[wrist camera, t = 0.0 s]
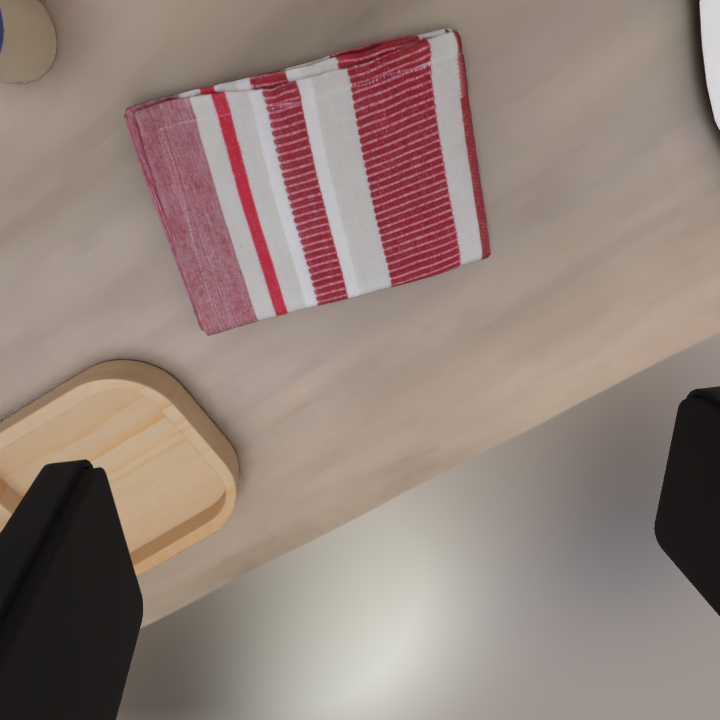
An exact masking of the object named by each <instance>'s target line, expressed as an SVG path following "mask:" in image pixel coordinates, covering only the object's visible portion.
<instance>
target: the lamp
mask: <svg viewBox="0 0 720 720" xmlns="http://www.w3.org/2000/svg"><path fill="white" fill-rule="evenodd" d="M84 459H86V460H89V461H90V462H91V464H92V465H93V468H98V467H101V468H103V469H104V470H105V472H106V475H107V477H108V481H109V484H110V488H111V491H112V495H113V498H114V502H115V505H116V508H117V512H118V515H119V519H120V522H121V526H122V529H123V533H124V536H125V539H126V543H127V546H128V550H129V553H130V557H131V560H132V563H133V567H134V570H135V574H136V577H137V576H139V575H141V574H142V573H144V572H146V571H148V570H149V569H151V568H153V567H155V566H157V565H158V564H160V563H162V562H164V561H165V560H167V559H169V558H171V557H173V556H174V555H176V554H178V553H180V552H181V551H183V550H185V549H187V548H189V547H190V546H192V545H194V544H196V543H197V542H199V541H201V540H203V539H204V538H206V537H208V536H209V535H211V534H213V533H214V532H216V531H217V530H218V529H220V528H221V527H222V526H223V525H224V524H225V523H226V521H227V520H228V519H229V517H230V516H231V514H232V512H233V509H234V507H235V503H236V498H237V489H238V479H239V462H238V458H237V455H236V453H235V451H234V449H233V447H232V445H231V444H230V443H229V441H228V440H227V439H226V438H225V436H224V435H223V434H222V433H221V431H220V430H219V429H218V428H217V427H216V425H215V424H214V423H213V422H212V421H211V419H210V418H209V417H208V416H207V415H206V413H205V412H204V411H203V410H202V409H201V407H200V406H199V405H198V404H197V403H196V402H195V400H194V399H193V398H192V397H191V396H190V394H189V393H188V392H187V391H186V390H185V389H184V388H183V386H182V385H181V384H180V383H179V382H178V381H177V380H176V379H175V378H173V377H172V376H171V375H169V374H168V373H167V372H165V371H163V370H161V369H159V368H157V367H155V366H153V365H150V364H147V363H143V362H139V361H132V360H114V361H107V362H103V363H100V364H97V365H94V366H92V367H90V368H88V369H87V370H85V371H83V372H81V373H80V374H78V375H76V376H75V377H73V378H71V379H70V380H68V381H66V382H65V383H63V384H62V385H60V386H58V387H57V388H55V389H53V390H52V391H50V392H48V393H47V394H45V395H44V396H42V397H40V398H39V399H37V400H35V401H34V402H32V403H30V404H29V405H27V406H26V407H24V408H22V409H21V410H19V411H17V412H16V413H14V414H13V415H11V416H9V417H8V418H6V419H4V420H3V421H1V422H0V533H1V531H2V530H3V528H4V526H5V525H6V523H7V522H8V520H9V519H10V517H11V516H12V514H13V513H14V511H15V509H16V508H17V506H18V505H19V503H20V502H21V500H22V499H23V497H24V496H25V494H26V492H27V491H28V489H29V488H30V486H31V485H32V483H33V482H34V480H35V478H36V477H37V475H38V474H39V472H40V471H41V469H42V468H43V467H44V466H45V465H46V464H50V463H58V462H67V461H76V460H84Z"/></svg>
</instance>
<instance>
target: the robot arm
mask: <svg viewBox="0 0 720 720" xmlns="http://www.w3.org/2000/svg"><path fill="white" fill-rule="evenodd" d="M654 529H655V535H656V539H657V541H658V543H659V545H660V547H661V548H662V549H663V550H664V552H665V553H666V554H667V555H668V556H669V557H670V559H671V560H672V561H673V562H674V563H675V564H676V566H677V567H678V568H679V569H680V570H681V572H682V573H683V574H684V575H685V576H686V577H687V578H688V580H689V581H690V582H691V583H692V584H693V585H694V587H695V588H696V589H697V590H698V591H699V593H700V594H701V595H702V596H703V597H704V598H705V600H706V601H707V602H708V603H709V604H710V605H711V607H712V608H713V609H714V610H715V611H716V612H717V613H718V615H719V616H720V386H719V387H711V388H703V389H695V390H693V391H691V392H690V393H689V395H688V396H687V398H686V399H685V400H683V401H682V402H681V403H680V405H679V407H678V411H677V416H676V422H675V426H674V432H673V436H672V441H671V446H670V451H669V456H668V461H667V466H666V471H665V476H664V481H663V486H662V490H661V495H660V500H659V505H658V510H657V515H656V520H655V528H654ZM142 617H143V599H142V594H141V591H140V588H139V584H138V581H137V577H136V574H135V570H134V567H133V563H132V560H131V557H130V553H129V550H128V546H127V543H126V539H125V536H124V533H123V529H122V526H121V522H120V519H119V515H118V512H117V508H116V505H115V502H114V498H113V495H112V491H111V488H110V484H109V481H108V477H107V475H106V472H105V470H104V469H103V468H101V467H98V468H93V465H92V464H91V462H90V461H89V460H86V459H84V460H76V461H67V462H58V463H50V464H46V465H45V466H44V467H43V468H42V469H41V471H40V472H39V474H38V475H37V477H36V478H35V480H34V482H33V483H32V485H31V486H30V488H29V489H28V491H27V492H26V494H25V496H24V497H23V499H22V500H21V502H20V503H19V505H18V506H17V508H16V509H15V511H14V513H13V514H12V516H11V517H10V519H9V520H8V522H7V523H6V525H5V526H4V528H3V530H2V531H1V533H0V720H116V717H117V713H118V709H119V706H120V702H121V698H122V694H123V691H124V687H125V683H126V679H127V675H128V672H129V668H130V664H131V660H132V656H133V653H134V649H135V645H136V641H137V637H138V633H139V630H140V626H141V622H142Z"/></svg>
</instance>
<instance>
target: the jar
mask: <svg viewBox="0 0 720 720" xmlns="http://www.w3.org/2000/svg"><path fill="white" fill-rule="evenodd" d="M0 9H1V13H2V18H3V27H4V29H5V31H4V38H3V45H2V50H1V53H0V82H1V83H21V84H22V83H28V82H32V81H34V80H37V79H39V78H40V77H42V76H43V75H44V74H45V73H46V72H47V71H48V70H49V68H50V67H51V65H52V63H53V61H54V58H55V55H56V50H57V37H56V32H55V28H54V25H53V22H52V20H51V17H50V15H49V14H48V12H47V10H46V9H45V7H44V6H43V4H42V3H41V2H40V1H39V0H0Z"/></svg>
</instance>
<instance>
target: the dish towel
mask: <svg viewBox="0 0 720 720" xmlns="http://www.w3.org/2000/svg"><path fill="white" fill-rule="evenodd" d="M125 113H126V114H125V116H124V118H125V119H126V122H127V126H128V129H129V132H130V135H131V138H132V141H133V145H134V148H135V151H136V154H137V157H138V160H139V163H140V165H141V168H142V171H143V174H144V177H145V180H146V182H147V185H148V188H149V190H150V193H151V195H152V198H153V200H154V203H155V206H156V208H157V211H158V214H159V217H160V220H161V223H162V226H163V229H164V231H165V234H166V236H167V239H168V242H169V244H170V247H171V250H172V252H173V255H174V258H175V260H176V263H177V265H178V268H179V271H180V273H181V276H182V279H183V282H184V285H185V287H186V290H187V293H188V295H189V298H190V300H191V303H192V306H193V309H194V312H195V315H196V317H197V320H198V323H199V326H200V328H201V330H203V331H205V333H206V334H207V335H208V336H209V335H212V334H217V333H220V332H223V331H226V330H229V329H232V328H235V327H239V326H243V325H246V324H249V323H252V322H256V321H259V320H263V319H267V318H271V317H274V316H279V315H283V314H287V313H290V312H294V311H297V310H301V309H304V308H308V307H313V306H319V305H323V304H327V303H332V302H337V301H341V300H344V299H348V298H351V297H355V296H360V295H363V294H367V293H371V292H374V291H377V290H381V289H384V288H387V287H394V286H398V285H402V284H406V283H410V282H413V281H417V280H420V279H424V278H428V277H432V276H435V275H438V274H441V273H444V272H447V271H449V270H452V269H454V268H457V267H459V266H461V265H464V264H468V263H471V262H475V261H478V260H482V259H485V258H487V257H489V255H490V254H491V249H490V243H489V235H488V227H487V221H486V214H485V208H484V201H483V195H482V189H481V182H480V175H479V168H478V160H477V155H476V146H475V140H474V134H473V126H472V119H471V111H470V106H469V98H468V85H467V77H466V69H465V62H464V57H463V53H462V44H461V38H460V35H459V33H458V32H457V30H455V31H452V29H451V28H445V29H440V30H435V31H431V32H427V33H422V34H417V35H411V36H405V37H399V38H394V39H389V40H385V41H381V42H376V43H372V44H369V45H367V46H363V47H360V48H353V49H350V50H345V51H341V52H338V53H335V54H333V55H329V56H326V57H323V58H321V59H318V60H315V61H312V62H309V63H305V64H301V65H297V66H293V67H289V68H285V69H282V70H279V71H275V72H271V73H265V74H260V75H257V76H253V77H248V78H244V79H240V80H236V81H232V82H226V83H222V84H218V85H215V86H211V87H207V88H201V89H196V90H191V91H187V92H183V93H179V94H176V95H171V96H167V97H163V98H159V99H155V100H150V101H148V102H145V103H142V104H138V105H134V106H131V107H128V108H127V109H126V110H125Z"/></svg>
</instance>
